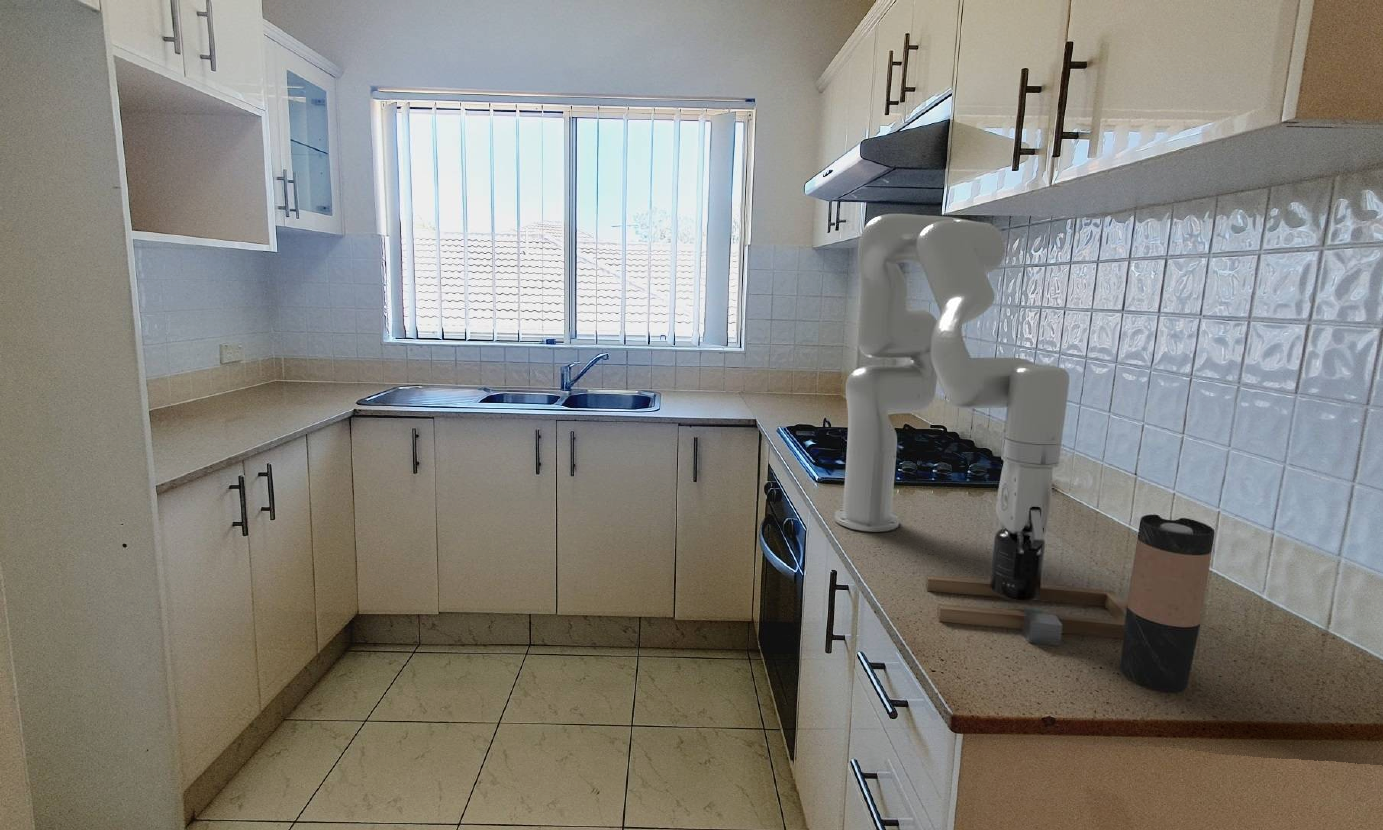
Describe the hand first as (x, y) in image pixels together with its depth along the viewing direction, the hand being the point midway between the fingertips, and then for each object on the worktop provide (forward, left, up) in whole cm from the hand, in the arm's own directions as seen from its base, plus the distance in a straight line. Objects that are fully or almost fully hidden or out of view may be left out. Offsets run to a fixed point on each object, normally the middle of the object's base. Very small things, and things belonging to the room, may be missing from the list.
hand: (1016, 568), depth 106 cm
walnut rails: (0, +2, -7) cm, 7 cm away
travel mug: (+16, +13, -7) cm, 21 cm away
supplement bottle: (0, 0, -4) cm, 4 cm away
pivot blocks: (0, +2, -7) cm, 7 cm away
